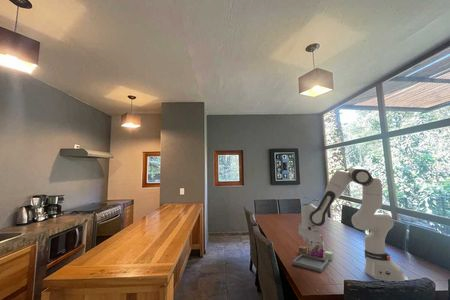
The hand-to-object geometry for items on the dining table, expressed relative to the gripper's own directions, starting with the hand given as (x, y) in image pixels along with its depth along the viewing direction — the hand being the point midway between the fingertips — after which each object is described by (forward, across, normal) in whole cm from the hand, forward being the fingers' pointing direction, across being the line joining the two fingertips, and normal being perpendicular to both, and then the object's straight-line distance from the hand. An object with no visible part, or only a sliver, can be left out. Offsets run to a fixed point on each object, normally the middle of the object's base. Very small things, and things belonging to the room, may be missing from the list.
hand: (309, 244), depth 153 cm
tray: (+14, 0, 0) cm, 14 cm away
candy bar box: (+14, -12, +14) cm, 23 cm away
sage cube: (+14, -3, +20) cm, 24 cm away
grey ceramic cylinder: (+14, -20, +27) cm, 36 cm away
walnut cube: (+14, -19, +8) cm, 25 cm away
